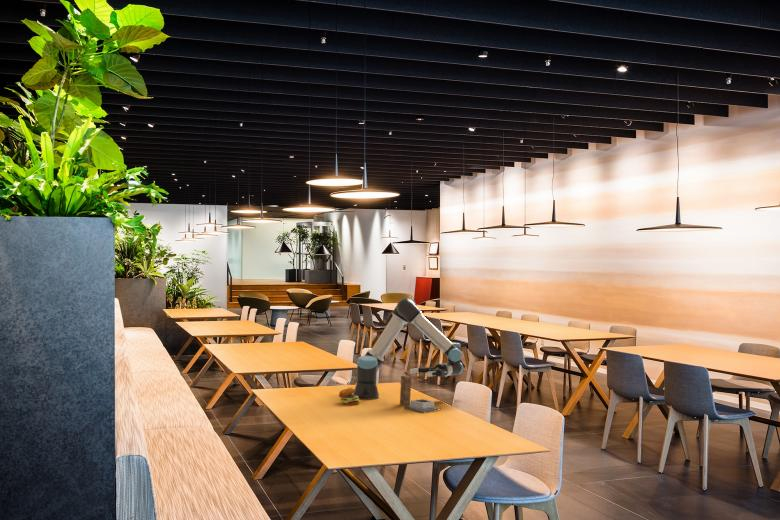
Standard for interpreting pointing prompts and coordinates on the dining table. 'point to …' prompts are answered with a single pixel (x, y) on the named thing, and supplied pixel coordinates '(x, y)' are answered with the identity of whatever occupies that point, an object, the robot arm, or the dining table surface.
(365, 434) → the dining table surface
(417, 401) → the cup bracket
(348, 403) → the cheeseburger
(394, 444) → the dining table surface
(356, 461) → the dining table surface
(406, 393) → the walnut post
